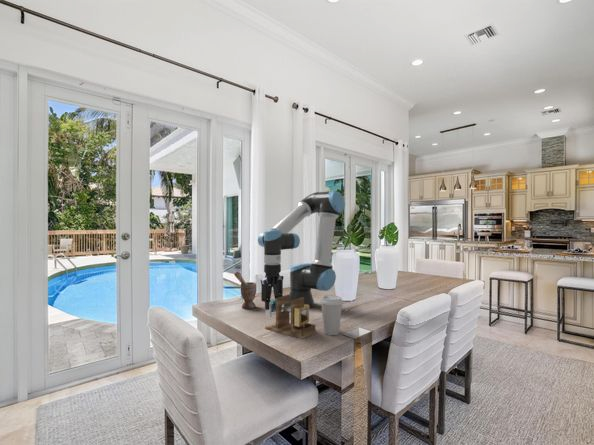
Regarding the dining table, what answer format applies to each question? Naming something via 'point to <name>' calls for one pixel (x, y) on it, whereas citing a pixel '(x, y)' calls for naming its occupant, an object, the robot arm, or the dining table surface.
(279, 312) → the bracket
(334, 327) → the coffee cup
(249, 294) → the mortar and pestle
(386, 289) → the dining table surface
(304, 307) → the tan wooden piece
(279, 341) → the dining table surface
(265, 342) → the dining table surface
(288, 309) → the shaft
